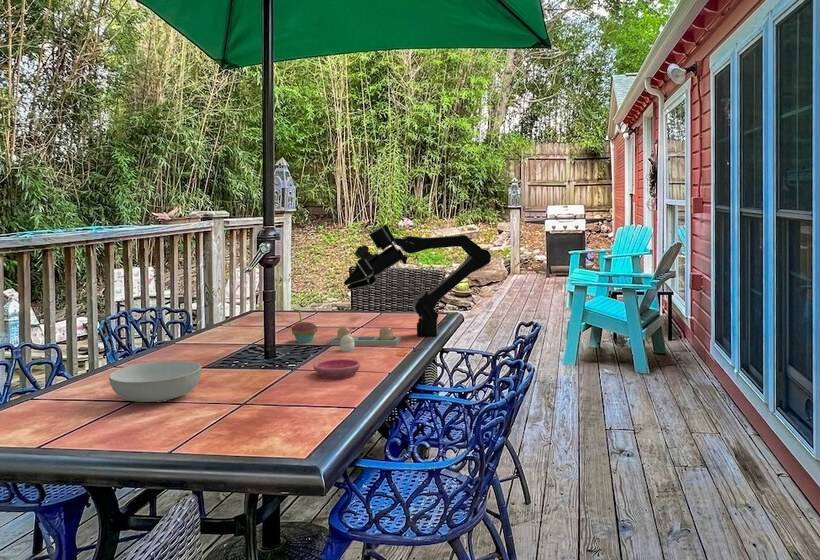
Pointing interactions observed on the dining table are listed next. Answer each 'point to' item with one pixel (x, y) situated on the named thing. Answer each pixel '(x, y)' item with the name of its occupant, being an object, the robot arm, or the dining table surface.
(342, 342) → the white egg
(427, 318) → the robot arm
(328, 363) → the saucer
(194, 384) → the serving bowl
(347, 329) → the brown egg
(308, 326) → the cupcake
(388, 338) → the brown egg
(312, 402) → the dining table surface
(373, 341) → the egg carton
